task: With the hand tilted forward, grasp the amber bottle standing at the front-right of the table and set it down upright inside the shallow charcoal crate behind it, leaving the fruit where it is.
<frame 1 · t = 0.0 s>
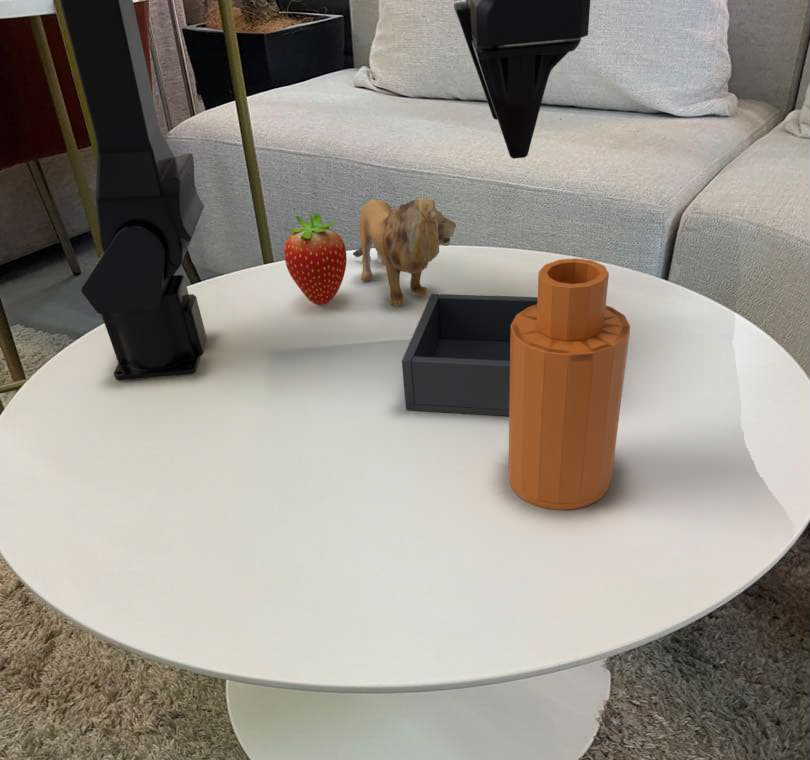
hand: (509, 136, 56), 15 cm above the table, tool pointing down, fingers open, 9 cm apart
fruit: (323, 304, 72), on the table
lion figurine: (400, 288, 74), on the table
crate: (487, 376, 61), on the table
bottle: (559, 478, 51), on the table
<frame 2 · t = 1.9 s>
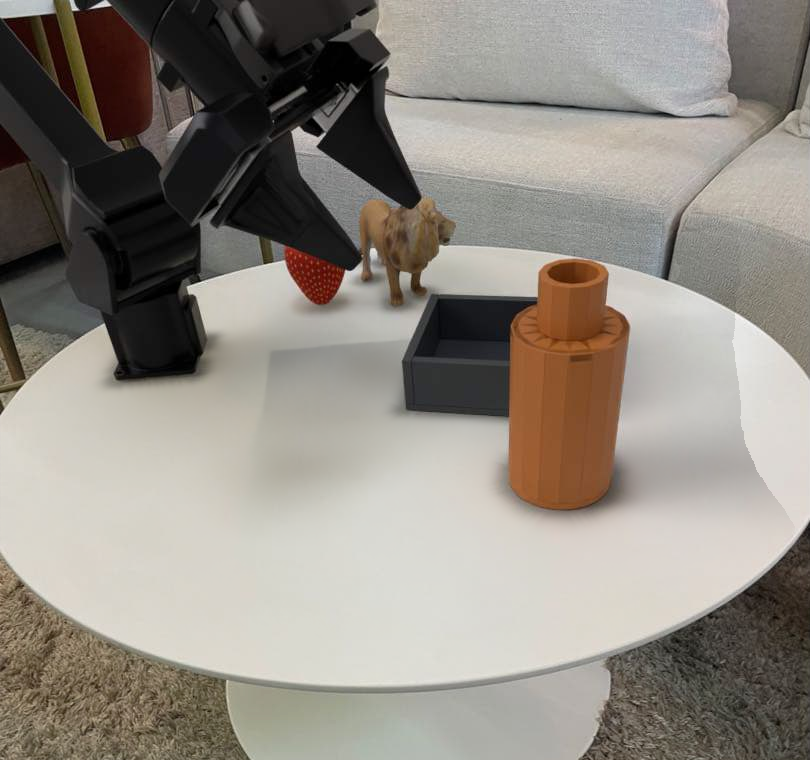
hand: (389, 233, 48), 13 cm above the table, tool tilted 45°, fingers open, 9 cm apart
nothing on the table moved.
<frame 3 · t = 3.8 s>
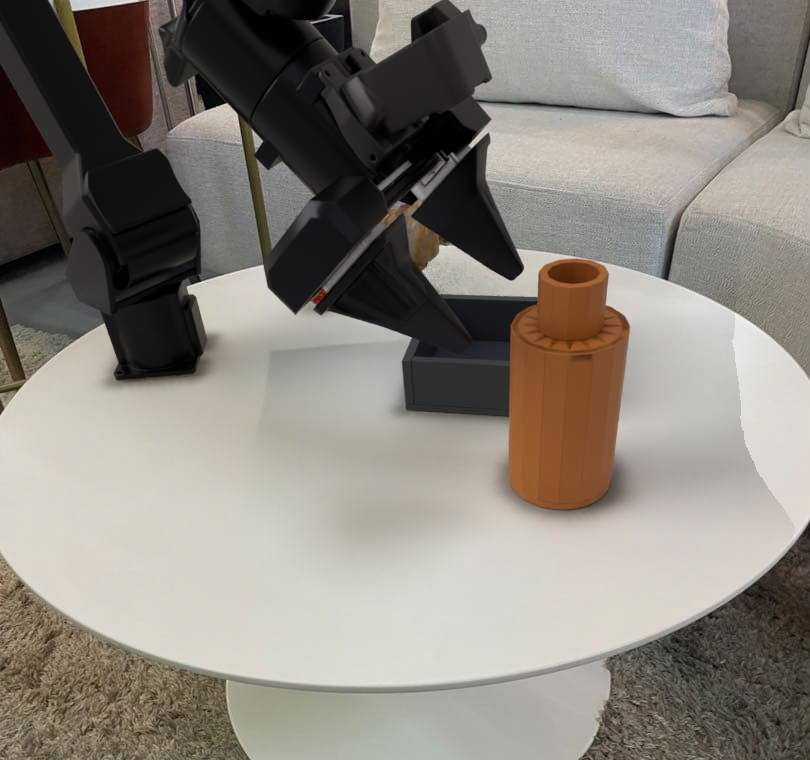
hand: (494, 309, 45), 11 cm above the table, tool tilted 45°, fingers open, 9 cm apart
nothing on the table moved.
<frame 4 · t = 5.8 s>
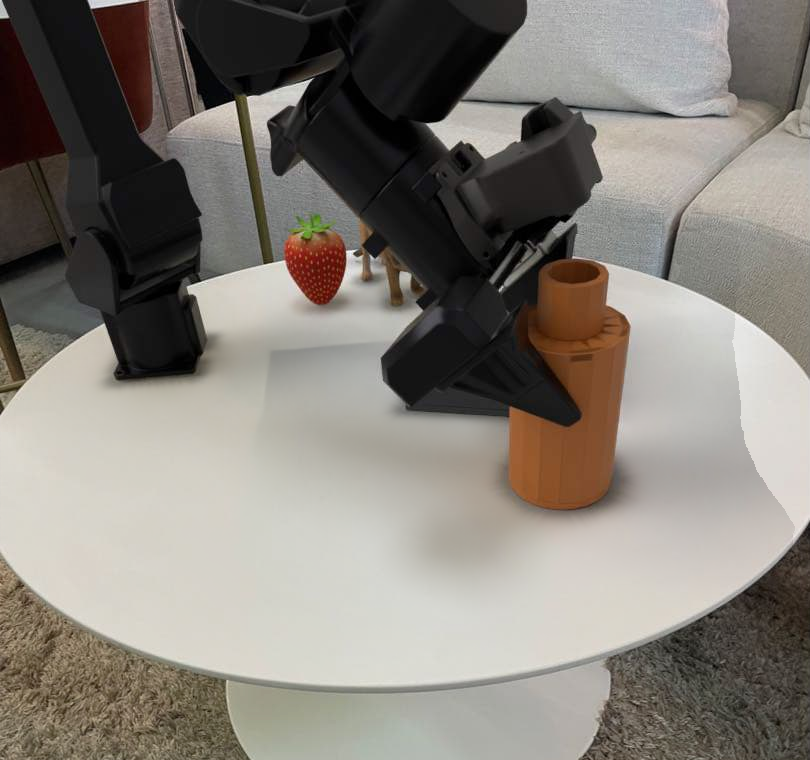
hand: (589, 390, 46), 7 cm above the table, tool tilted 45°, fingers closed on bottle, 6 cm apart
bottle: (559, 478, 51), on the table, touching gripper
everything else where it was.
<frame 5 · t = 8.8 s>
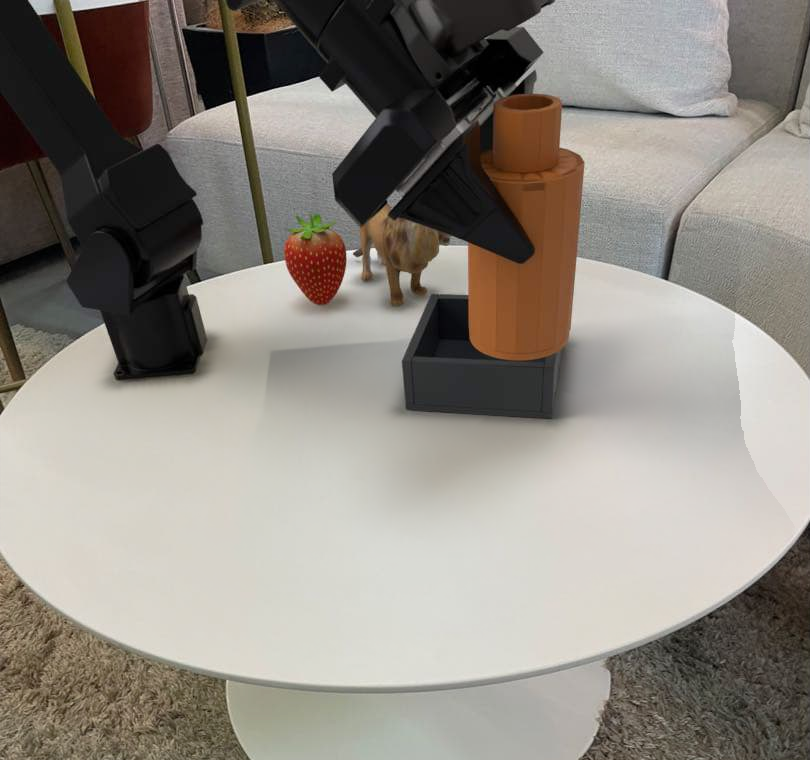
hand: (545, 235, 47), 13 cm above the table, tool tilted 45°, fingers closed on bottle, 6 cm apart
bottle: (518, 335, 51), point 7 cm above the table, touching gripper
everything else where it was.
when the fingers open (7 cm above the table, at t = 12.1 s): bottle stays where it is, resting on crate.
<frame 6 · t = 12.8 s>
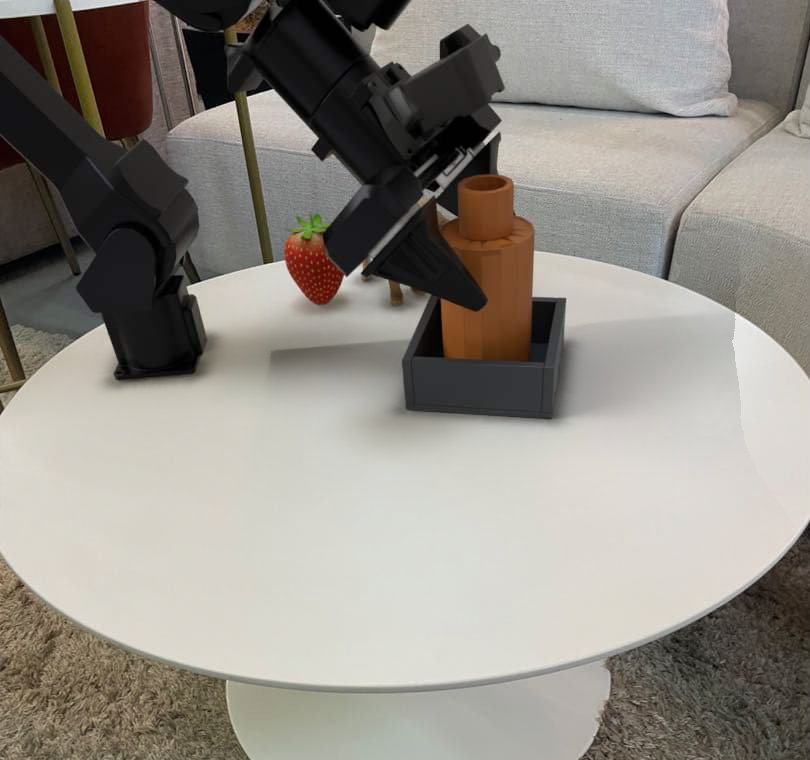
hand: (504, 276, 55), 8 cm above the table, tool tilted 45°, fingers open, 9 cm apart
bottle: (486, 370, 60), resting on crate
everything else where it was.
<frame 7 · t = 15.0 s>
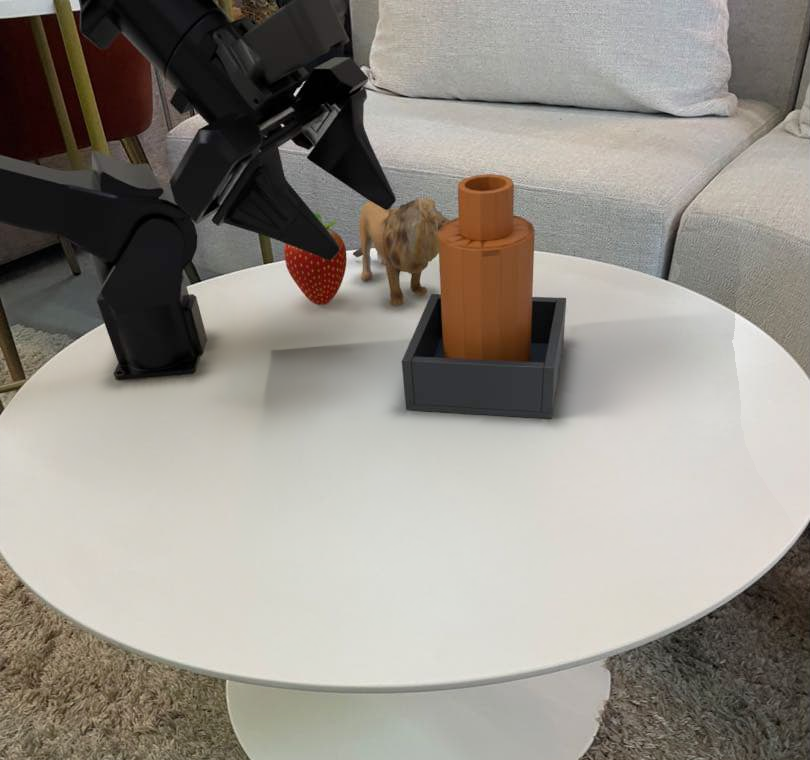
hand: (365, 229, 57), 10 cm above the table, tool tilted 45°, fingers open, 9 cm apart
nothing on the table moved.
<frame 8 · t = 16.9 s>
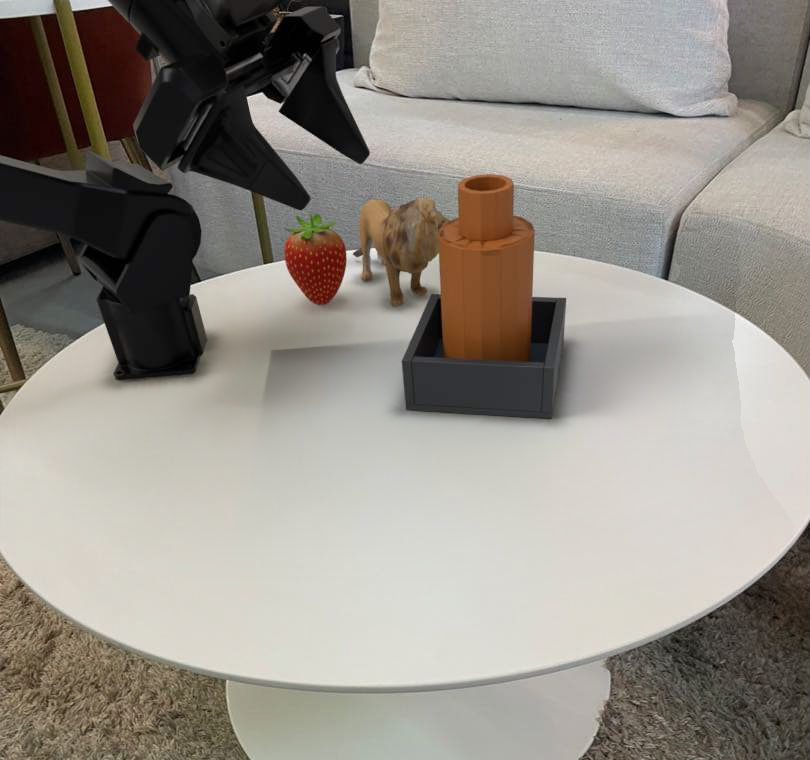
hand: (337, 180, 55), 14 cm above the table, tool tilted 45°, fingers open, 9 cm apart
nothing on the table moved.
at the end: bottle inside the target area in the crate (0.1 cm from its centre), point 0.5 cm above the crate's base; bottle tilted 0°; fruit moved 0.2 cm from its start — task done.
